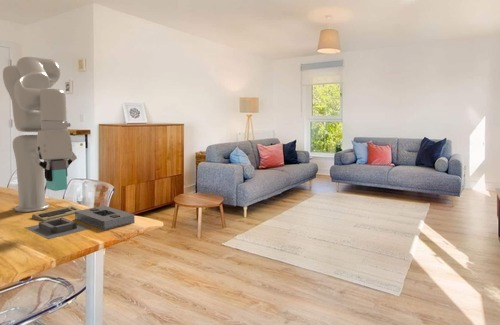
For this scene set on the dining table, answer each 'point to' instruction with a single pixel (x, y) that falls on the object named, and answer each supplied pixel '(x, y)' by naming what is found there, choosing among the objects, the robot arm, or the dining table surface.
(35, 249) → the dining table surface
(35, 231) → the plate
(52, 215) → the computer
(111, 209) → the port block
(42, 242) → the dining table surface
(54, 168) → the plug
